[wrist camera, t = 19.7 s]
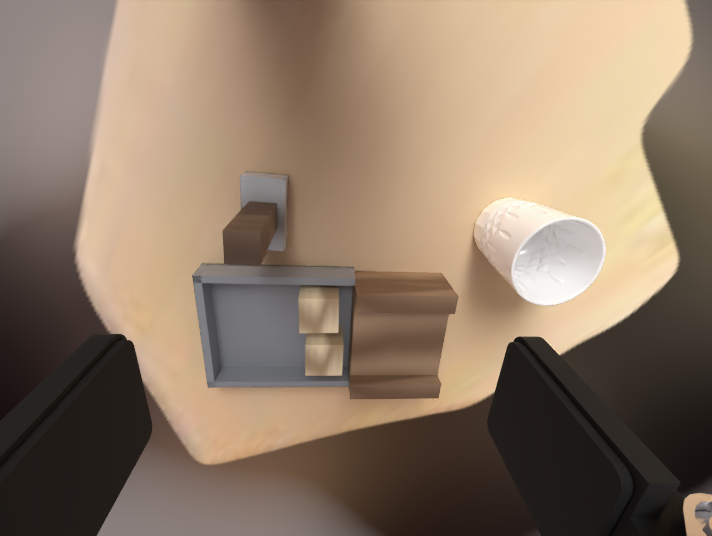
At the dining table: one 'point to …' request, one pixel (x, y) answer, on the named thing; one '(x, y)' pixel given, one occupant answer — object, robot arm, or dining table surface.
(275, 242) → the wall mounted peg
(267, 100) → the dining table surface
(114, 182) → the dining table surface
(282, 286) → the tray
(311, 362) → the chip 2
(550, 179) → the dining table surface
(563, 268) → the white cup
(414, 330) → the slot block
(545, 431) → the robot arm
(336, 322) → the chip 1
